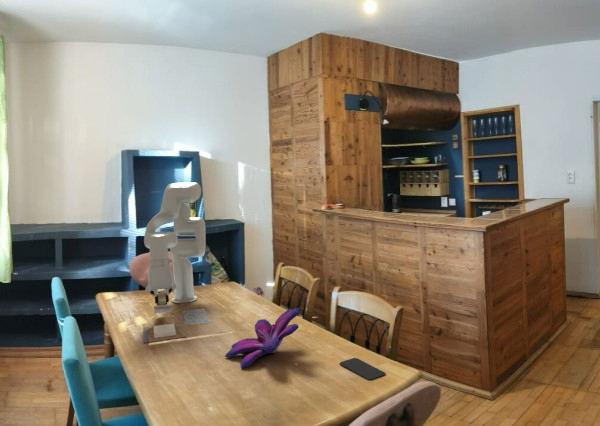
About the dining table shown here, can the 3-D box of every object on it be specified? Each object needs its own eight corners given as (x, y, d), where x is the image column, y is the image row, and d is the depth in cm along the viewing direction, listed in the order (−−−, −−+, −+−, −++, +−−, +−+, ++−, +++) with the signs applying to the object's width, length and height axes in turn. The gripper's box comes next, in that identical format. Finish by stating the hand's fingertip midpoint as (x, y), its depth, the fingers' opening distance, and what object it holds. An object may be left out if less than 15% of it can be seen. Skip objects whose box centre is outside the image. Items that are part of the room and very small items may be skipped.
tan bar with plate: (153, 301, 202) (152, 288, 201) (169, 299, 204) (168, 286, 204) (154, 313, 185) (153, 299, 184) (172, 310, 187) (171, 296, 187)
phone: (368, 380, 133) (338, 362, 146) (368, 382, 133) (338, 365, 146) (387, 373, 137) (355, 357, 150) (387, 376, 137) (355, 359, 150)
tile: (153, 326, 182) (154, 334, 173) (173, 323, 185) (175, 331, 175) (153, 331, 182) (154, 339, 173) (174, 328, 185) (175, 336, 175)
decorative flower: (242, 394, 138) (227, 367, 137) (231, 363, 168) (218, 340, 167) (326, 340, 145) (312, 314, 144) (300, 320, 175) (288, 298, 174)
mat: (143, 328, 187) (143, 327, 187) (182, 323, 192) (182, 322, 192) (143, 343, 170) (143, 342, 170) (186, 337, 175) (186, 336, 175)
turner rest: (182, 313, 207) (182, 311, 207) (204, 310, 211) (203, 308, 211) (186, 327, 187) (186, 325, 187) (210, 324, 190) (210, 322, 190)
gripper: (178, 259, 200) (180, 299, 202) (139, 263, 195) (142, 304, 196) (179, 262, 193) (182, 304, 195) (139, 266, 188) (142, 309, 189)
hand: (162, 303), depth 195 cm, fingers closed on tan bar with plate, 3 cm apart
